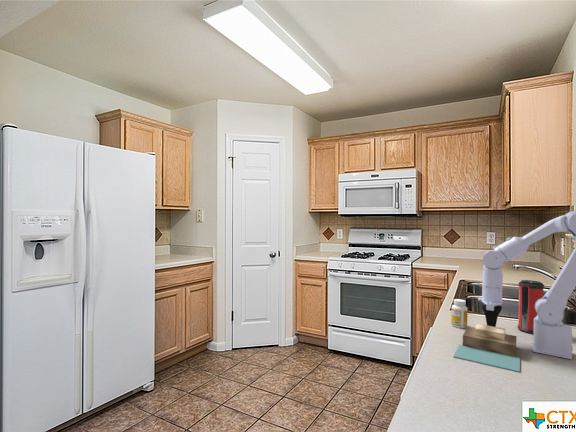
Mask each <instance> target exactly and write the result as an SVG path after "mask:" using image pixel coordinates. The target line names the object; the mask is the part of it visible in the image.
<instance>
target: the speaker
mask: <svg viewBox="0 0 576 432" xmlns="http://www.w3.org/2000/svg"><path fill="white" fill-rule="evenodd" d="M545 286H546V285H545V284H544V283H542V282H541V281H538V280H537V281H536V280H530V279H523V280H522V279H521V280H520V281H519V282H518V320H517V321H518V322H517V329H518V330H519V331H520V332H523V333H527V334H531V335H534V318H535V317H536V316H537V312H536V310H535V303H536V301H537V300H539V299H541V298H542V297H544V288H545Z"/></svg>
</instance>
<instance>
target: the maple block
mask: <svg viewBox="0 0 576 432" xmlns="http://www.w3.org/2000/svg"><path fill="white" fill-rule="evenodd" d="M474 328H475V335H479V336H484V337H489V338H495V339H500V340H505V334H506V328H505V327H498V326H496V327H493V326H487V324H486V325H485V324H481V323H476V324H475V327H474Z"/></svg>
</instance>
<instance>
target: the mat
mask: <svg viewBox="0 0 576 432" xmlns="http://www.w3.org/2000/svg"><path fill="white" fill-rule="evenodd" d="M453 358H455V359H459V360H460V359H461V360H463V361H464V360H465V361H469V362H474V363H477V364H482V365H485V366H486V365H487V366H491V367H495V368H500V369H504V370H508V371H512V372H517V373H520V372H521V370H520V368H521V358H520V357H519V356H516V357H514V356H510V355H505V354H500V353H495V352H491V351H486V350H481V349H476V348H471V347H467V346H463V344H462V345H461V344H459V345H458V346H457V348H456V349H455V353H454V354H453Z"/></svg>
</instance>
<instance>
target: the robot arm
mask: <svg viewBox="0 0 576 432" xmlns="http://www.w3.org/2000/svg"><path fill="white" fill-rule="evenodd" d="M565 232H569V233H570V234H571V235H572V237H573V239H574V240H575V242H576V210H572V211H568V212H566V213H565V214H564V215H560V216H558V217H555V218H553V219H550V220H549V221H547V222H545V223H543V224H541V225H540V226H538V227H537V228H535V229H533V230H532V231H530V232H528V233H526V234H525V235H523V236H521V237H519V236H513V237H511V236H509V237H507V238H506V240H505V241H504V242H502V243H501V244H499V245H497V246H496V245H494V246H492V249H490V250H488V251H486V252H485V253H484V254H483V257H482V262H483V266H482V269H483V271H482V288H481V291H482V292H481V297H478V298H477V300H478V301H479V302H482V303H483V304H481V310H482V312H483V313H484V316H485V322H486V325H487V326H493V327H497V321H498V317H499V315H500V313H501V312H502V309H503V306H502V304H503V303H504V301H503V281H504V280H503V278H504V277H503V275H504V274H503V270H502V269H503V265H504V262H507V263H508V262H509V261H512V260H514V259H516V258H518V257H520V256H521V255H523V254H524V253H527V251H528V249H529V246H530V245H532V244H534V243H536V242H538V241H540V240H542V239H544V238H546V237H548V236H550V235H552V234H555V233H565ZM575 289H576V247H575V248H574V249H573V251H572V252H571V254H570V256H569V257H568V259H567V261H566V263H564V266H563V268H562V269H561V271H560V272H559V274H558V275H557V277H556V279H555V281H554V282H553V284H552V285H551V286H550V288H549V289H548V290H547V291H546V292H545V294H543V297H542V298H541V299H539V300H537V301H536V303H535V310H536V312H537V316H536V317H535V318H534V334H532V335H533V341H532V342H531V352H534V353H539V354H543V355H547V356H548V355H549V356H553V357H559V358H564V359H569V360H572V358H573V357H572V355H573V354H572V353H573V349H574V348H573V329H572V326H571V325H567V324H564V322H563V319H564V310H565V309H566V307H567V303H568V300H569V297H570V296H571V295H572V293H573V291H574V290H575Z"/></svg>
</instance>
